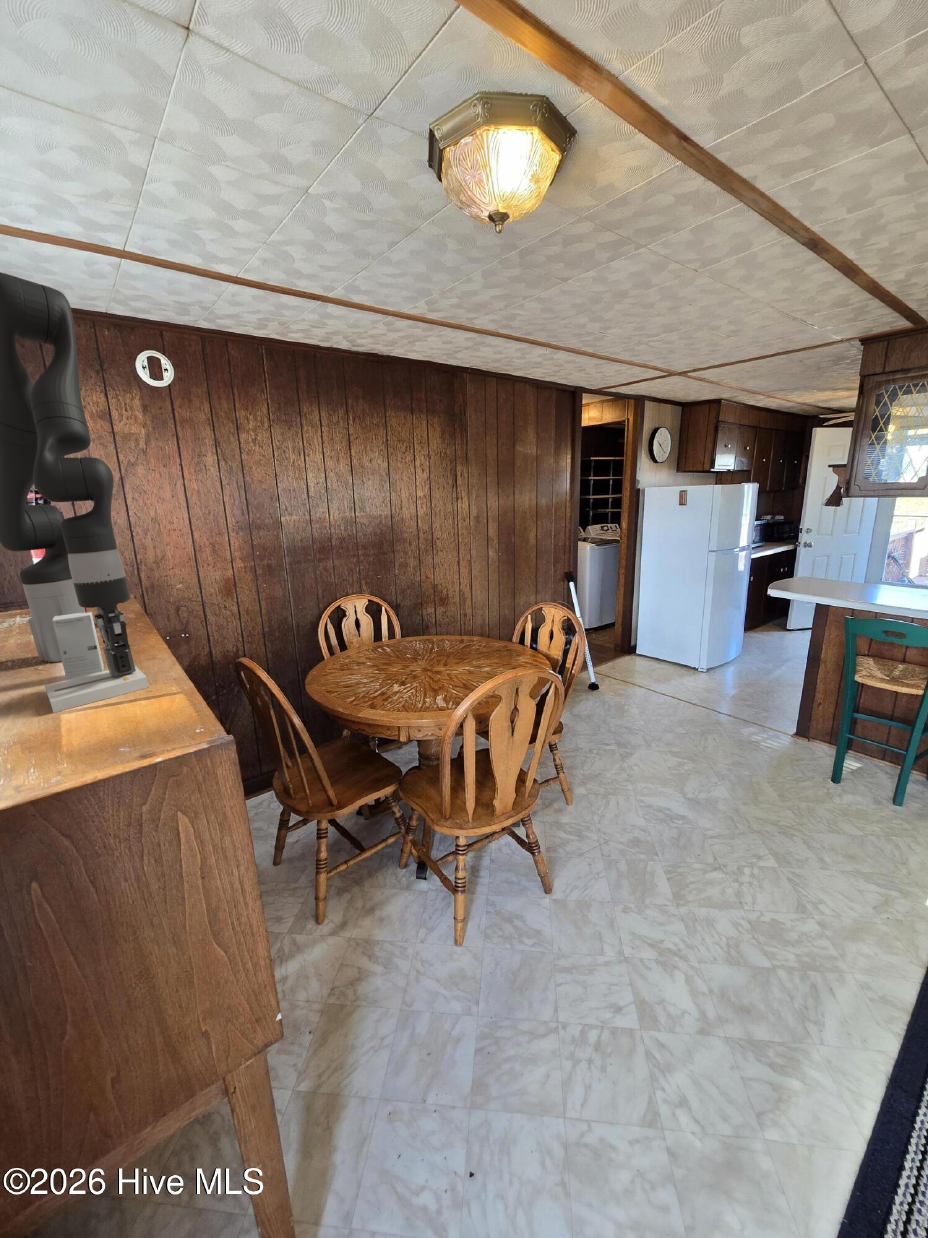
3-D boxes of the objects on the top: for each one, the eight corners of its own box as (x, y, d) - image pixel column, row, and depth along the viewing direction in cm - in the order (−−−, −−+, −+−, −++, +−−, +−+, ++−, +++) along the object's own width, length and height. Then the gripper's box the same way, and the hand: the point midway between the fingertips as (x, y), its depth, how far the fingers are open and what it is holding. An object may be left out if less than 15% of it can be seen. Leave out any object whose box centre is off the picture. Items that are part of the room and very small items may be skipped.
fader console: (53, 712, 80) (50, 701, 80) (47, 695, 88) (44, 684, 88) (149, 687, 89) (146, 676, 89) (135, 673, 97) (133, 663, 96)
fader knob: (112, 677, 89) (105, 650, 87) (109, 673, 91) (102, 646, 89) (135, 671, 91) (129, 644, 90) (132, 667, 93) (126, 641, 92)
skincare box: (66, 681, 95) (49, 620, 92) (68, 674, 99) (52, 616, 96) (105, 673, 98) (89, 614, 95) (106, 667, 102) (91, 610, 99)
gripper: (132, 577, 84) (154, 672, 88) (117, 570, 94) (137, 656, 98) (78, 584, 79) (104, 685, 83) (67, 577, 89) (91, 667, 93)
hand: (122, 669), depth 91 cm, fingers closed on fader knob, 3 cm apart
